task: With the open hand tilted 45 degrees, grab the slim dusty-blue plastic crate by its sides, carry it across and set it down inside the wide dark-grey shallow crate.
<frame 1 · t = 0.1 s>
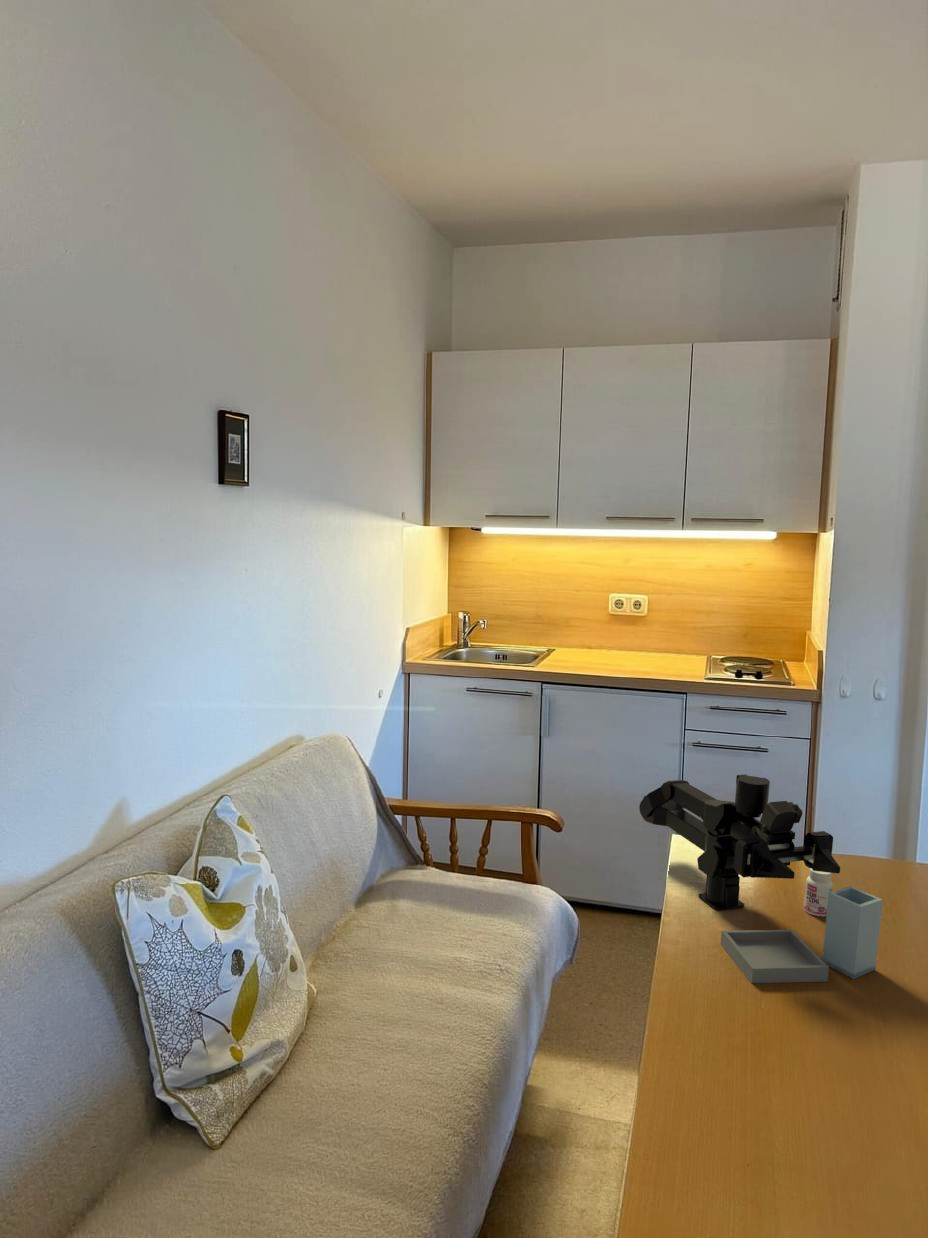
hand: (816, 873, 150), 17 cm above the table, tool horizontal, fingers open, 9 cm apart
slim crate: (848, 966, 153), on the table
shallow crate: (772, 962, 153), on the table
pill bottle: (816, 912, 174), on the table
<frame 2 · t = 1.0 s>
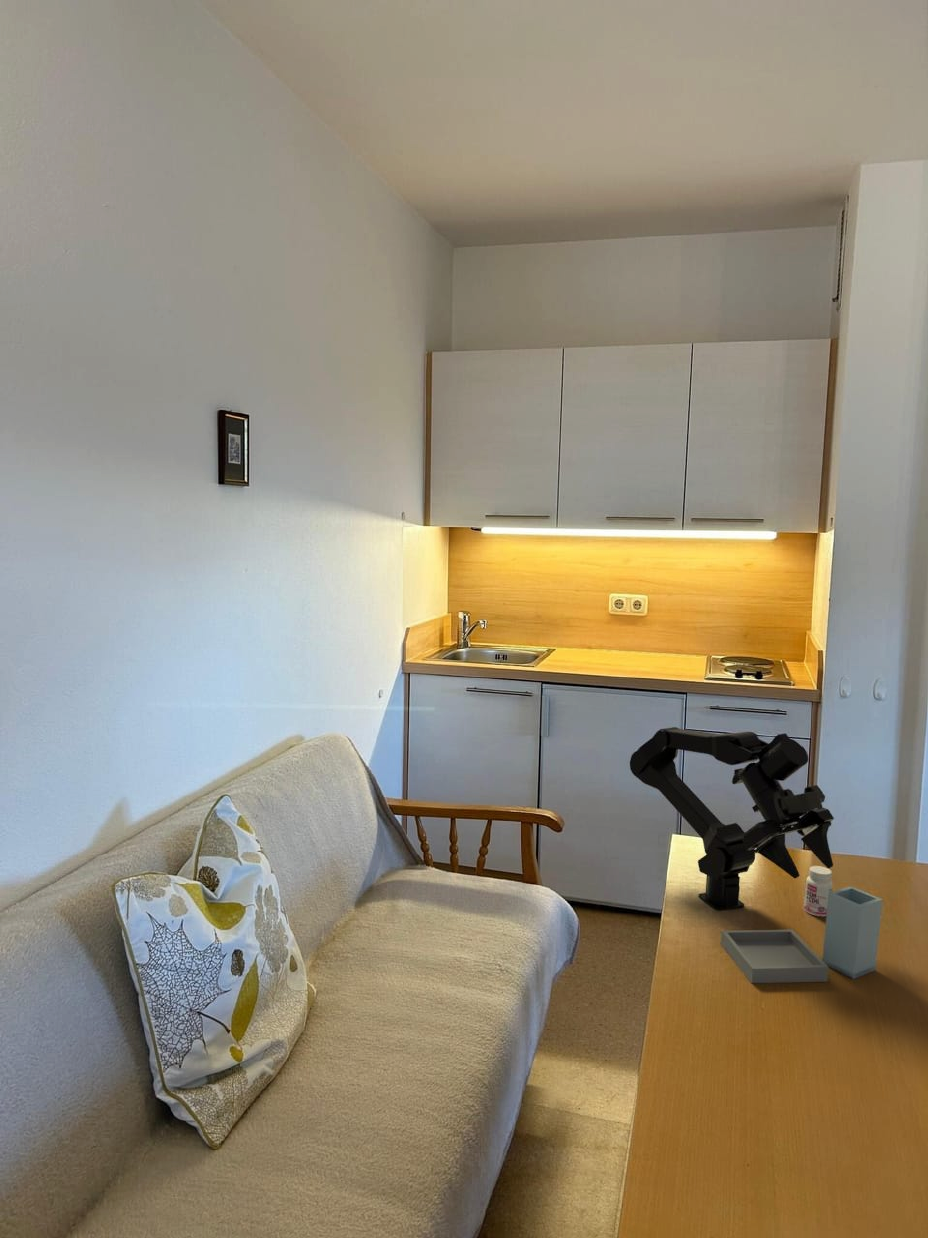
hand: (814, 872, 158), 14 cm above the table, tool tilted 45°, fingers open, 9 cm apart
nothing on the table moved.
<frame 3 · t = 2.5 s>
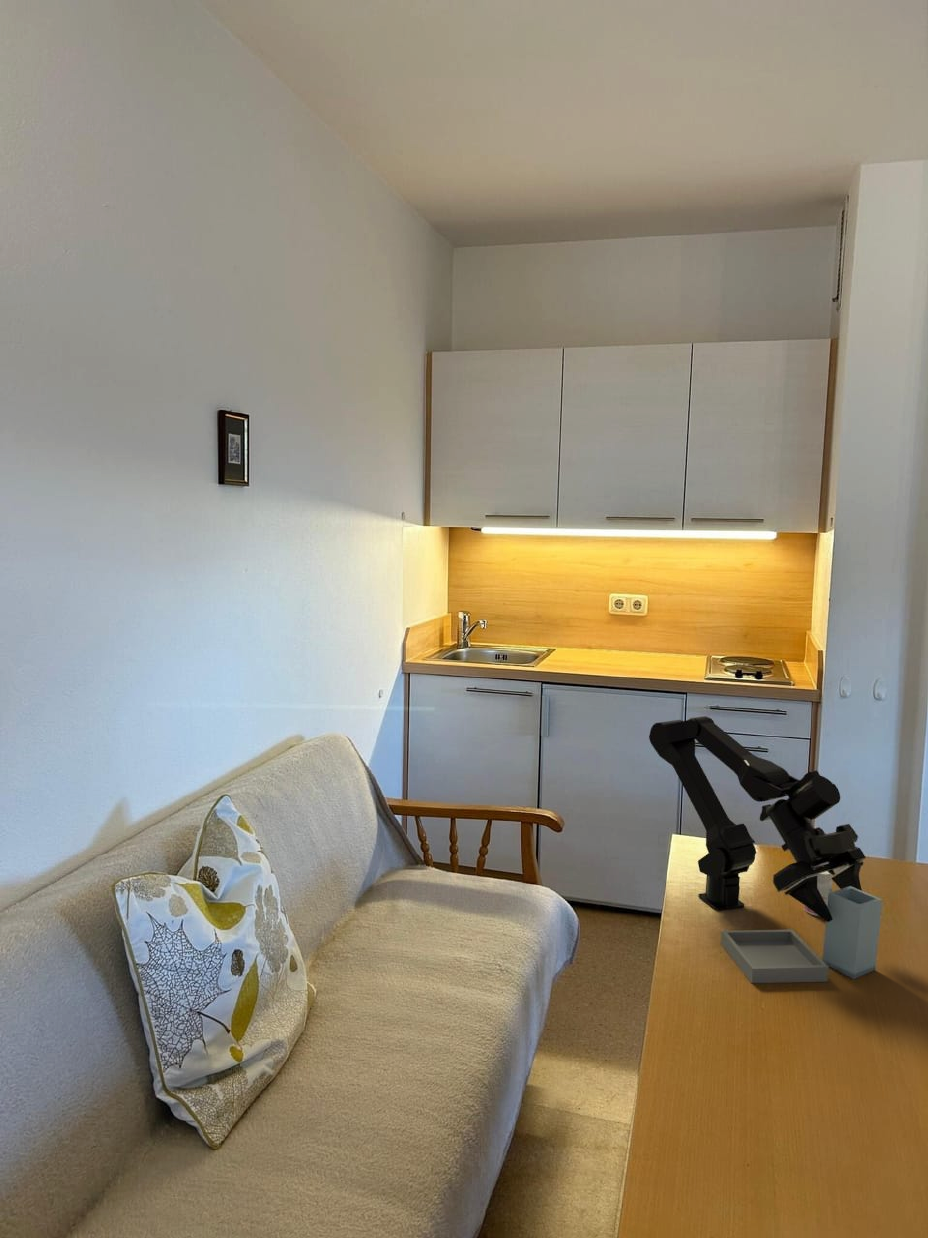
hand: (847, 915, 153), 9 cm above the table, tool tilted 45°, fingers open, 9 cm apart
nothing on the table moved.
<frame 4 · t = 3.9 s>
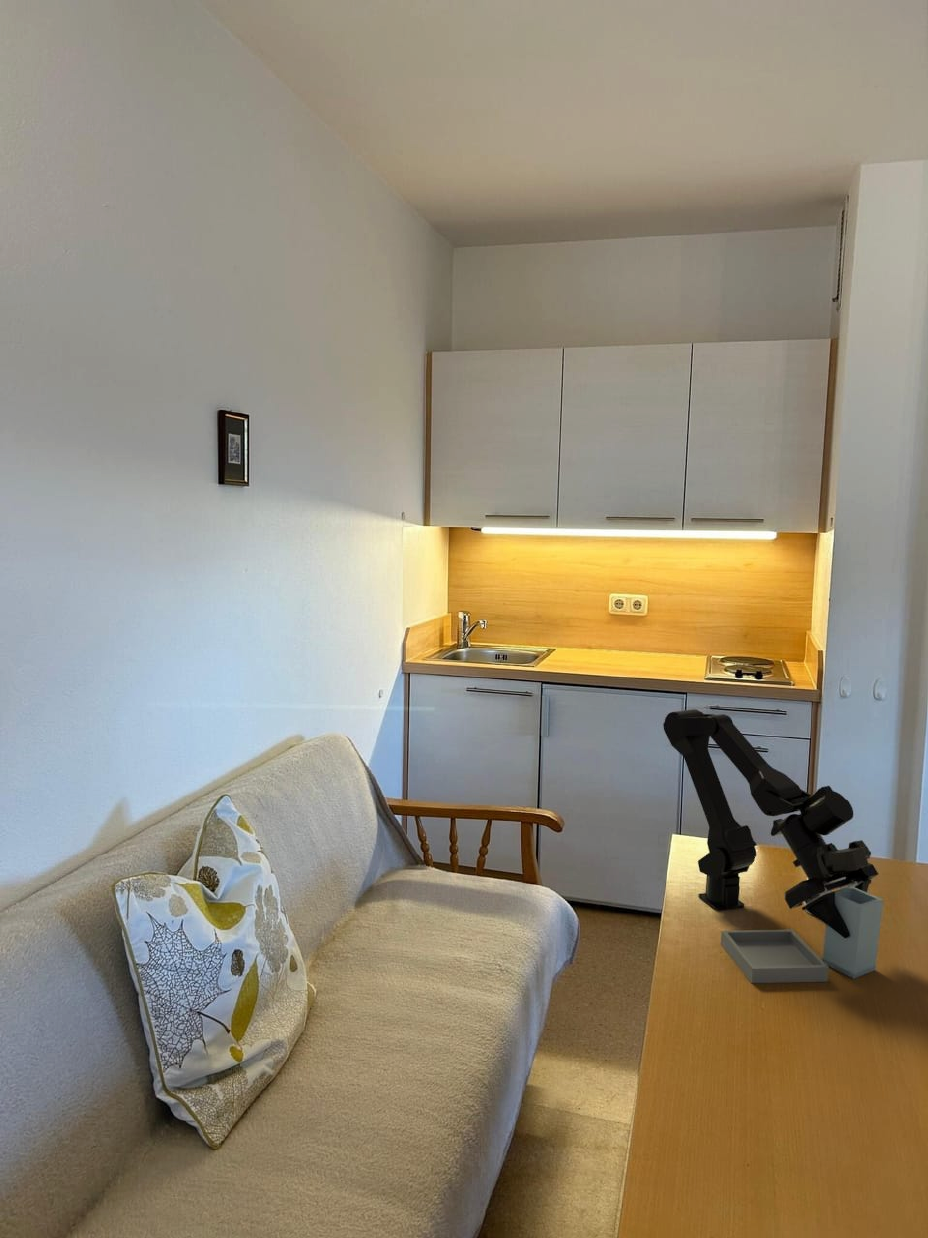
hand: (859, 933, 151), 7 cm above the table, tool tilted 45°, fingers closed on slim crate, 6 cm apart
slim crate: (848, 966, 153), on the table, touching gripper
everything else where it was.
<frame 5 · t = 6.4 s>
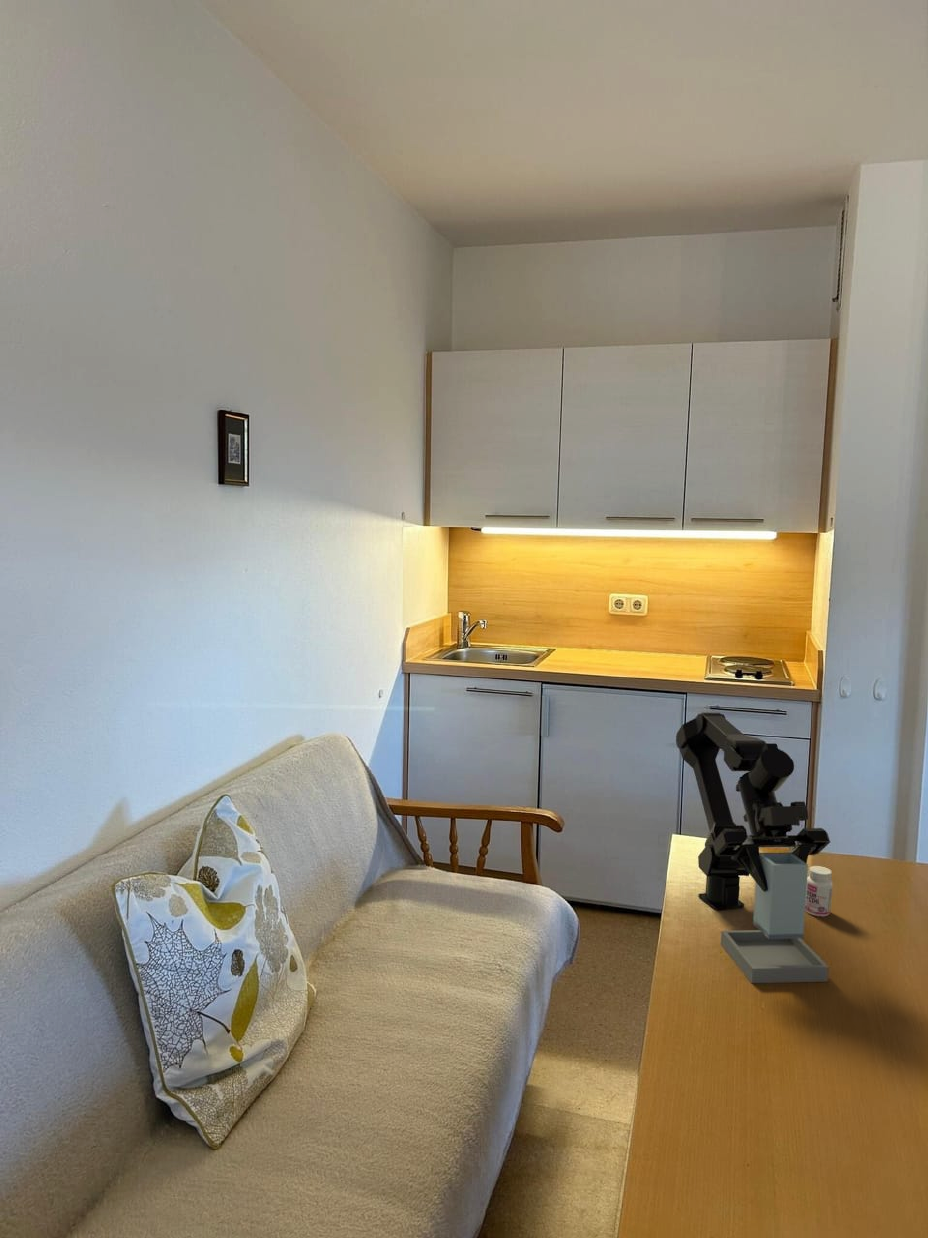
hand: (784, 890, 150), 13 cm above the table, tool tilted 45°, fingers closed on slim crate, 6 cm apart
slim crate: (777, 931, 152), point 6 cm above the table, touching gripper
everything else where it was.
when the fingers open (9 cm above the table, at t = 7.9 s): slim crate stays where it is, resting on shallow crate.
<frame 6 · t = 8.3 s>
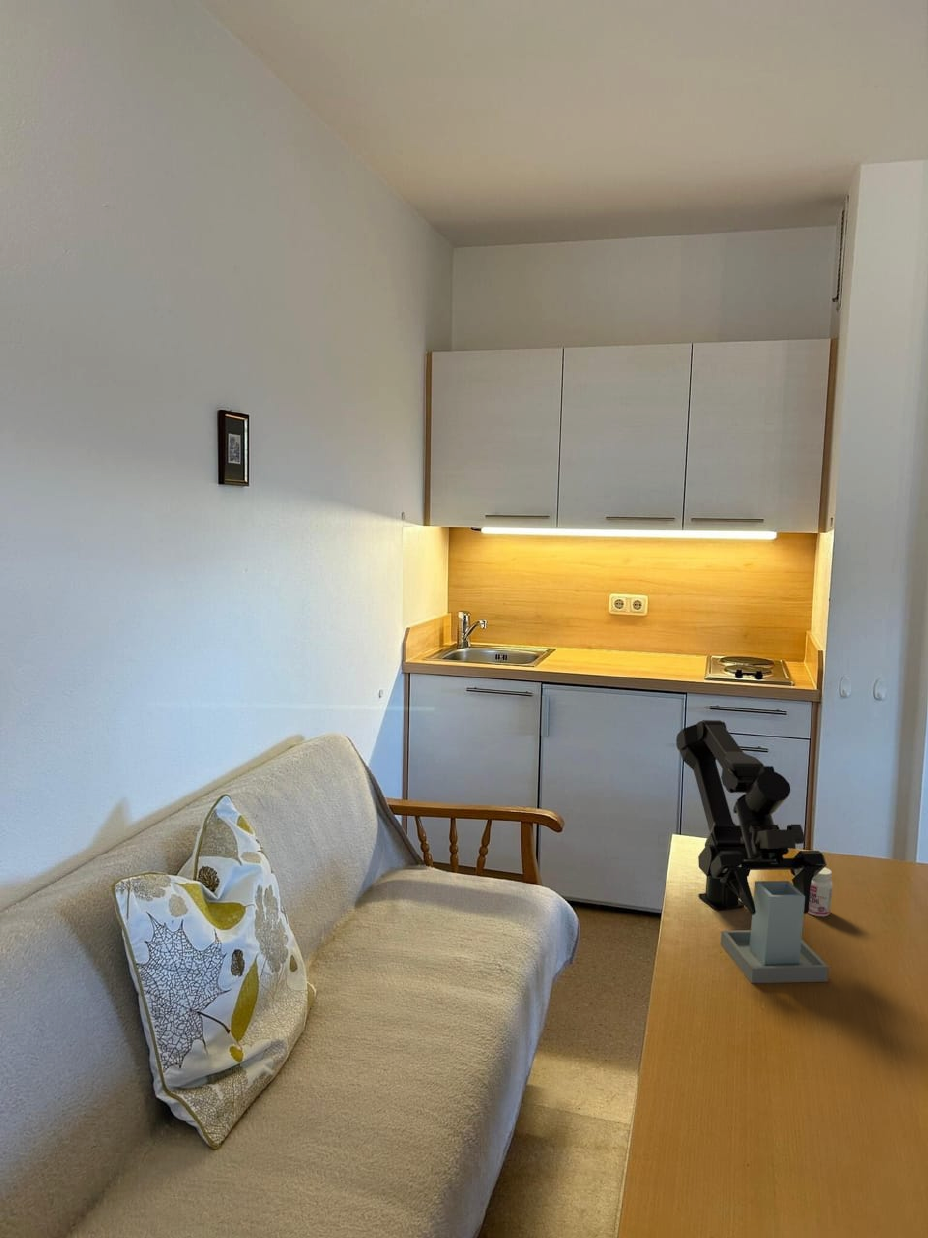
hand: (780, 913, 151), 9 cm above the table, tool tilted 45°, fingers open, 9 cm apart
slim crate: (773, 959, 153), point 1 cm above the table, touching shallow crate
everything else where it was.
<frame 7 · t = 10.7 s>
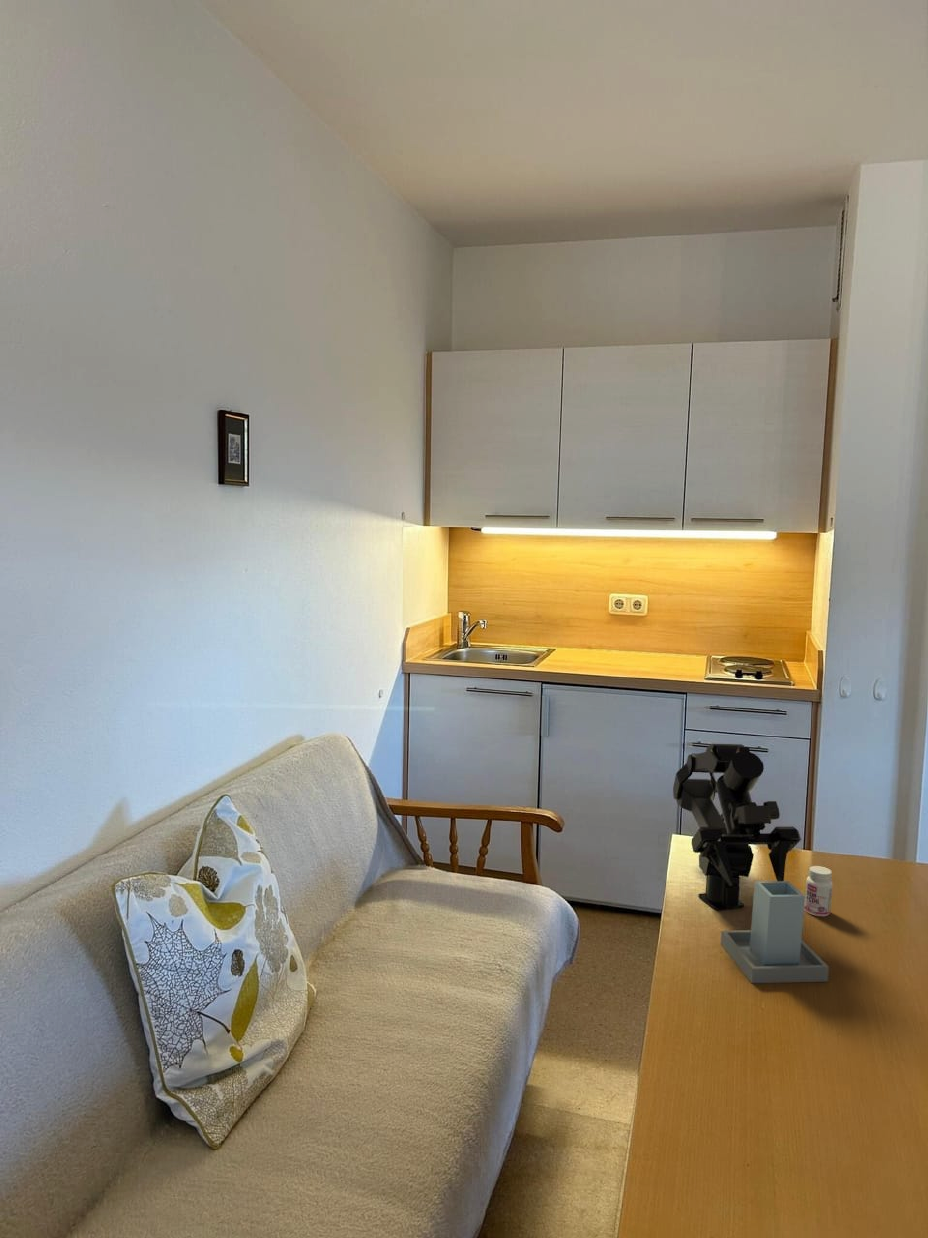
hand: (756, 884, 160), 10 cm above the table, tool tilted 45°, fingers open, 9 cm apart
nothing on the table moved.
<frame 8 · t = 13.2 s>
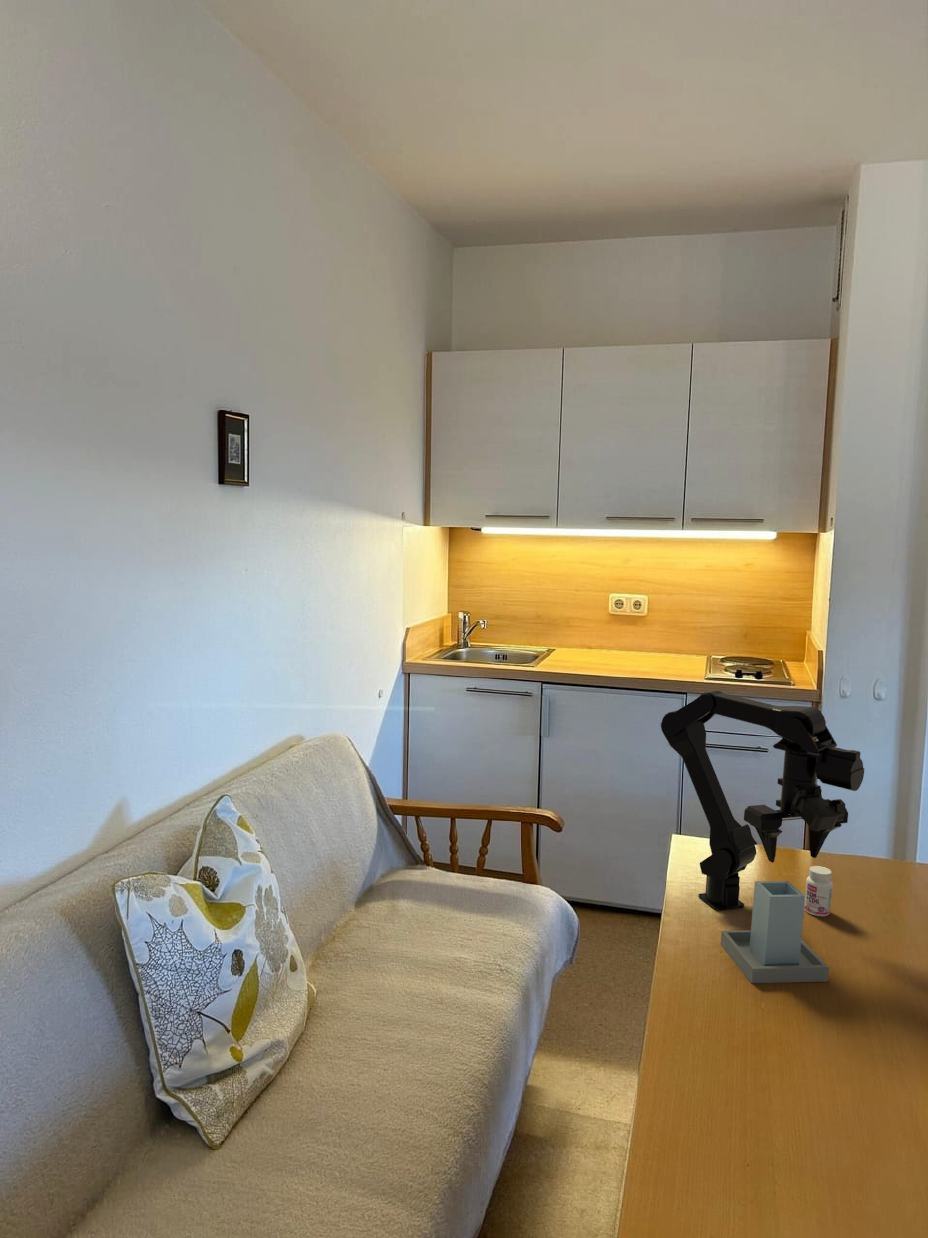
hand: (792, 859, 165), 13 cm above the table, tool pointing down, fingers open, 9 cm apart
nothing on the table moved.
at the end: slim crate 0.4 cm off-centre on the shallow crate, point 0.8 cm above the shallow crate's base; slim crate tilted 0°; the gripper is holding nothing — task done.
